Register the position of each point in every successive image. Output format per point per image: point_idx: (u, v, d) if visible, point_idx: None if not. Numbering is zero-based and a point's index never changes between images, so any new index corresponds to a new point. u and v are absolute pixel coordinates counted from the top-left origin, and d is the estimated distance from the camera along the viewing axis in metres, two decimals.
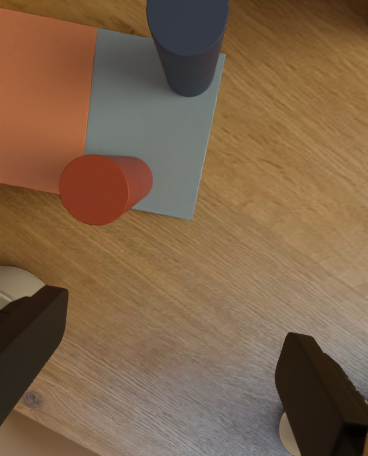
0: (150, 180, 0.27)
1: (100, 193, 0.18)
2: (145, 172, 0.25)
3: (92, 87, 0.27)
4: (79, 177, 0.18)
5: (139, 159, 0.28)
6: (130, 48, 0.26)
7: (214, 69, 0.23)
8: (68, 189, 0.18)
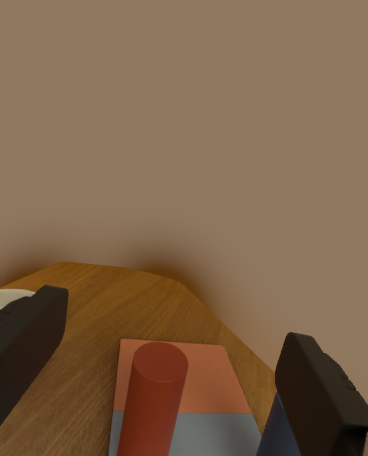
0: None
1: (160, 363, 0.23)
2: (162, 453, 0.23)
3: (211, 413, 0.32)
4: (168, 351, 0.24)
5: None
6: (254, 441, 0.30)
7: None
8: (157, 346, 0.25)
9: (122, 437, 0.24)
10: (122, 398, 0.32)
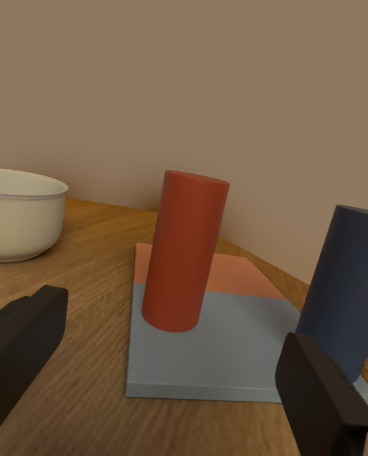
0: (183, 312, 0.20)
1: (198, 176, 0.19)
2: (198, 288, 0.20)
3: (242, 294, 0.28)
4: None
5: None
6: (293, 315, 0.26)
7: (355, 326, 0.17)
8: (191, 174, 0.21)
9: (150, 272, 0.20)
10: (143, 276, 0.28)
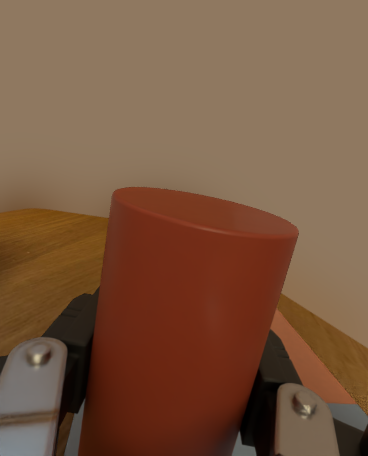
0: None
1: (206, 208, 0.07)
2: None
3: None
4: (221, 203, 0.08)
5: None
6: None
7: None
8: (187, 194, 0.09)
9: None
10: None
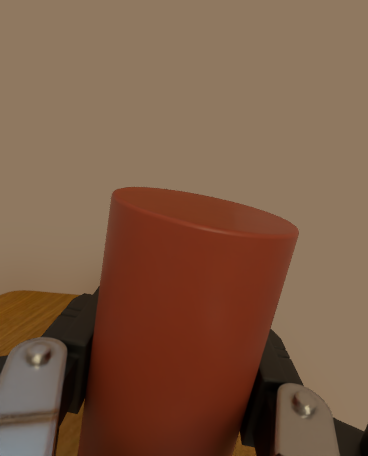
0: None
1: (206, 208, 0.07)
2: None
3: None
4: (221, 203, 0.08)
5: None
6: None
7: None
8: (187, 194, 0.09)
9: None
10: None
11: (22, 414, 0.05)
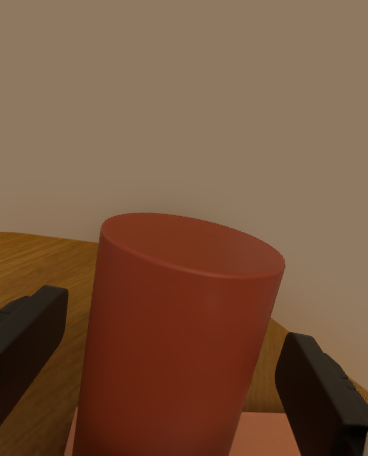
0: None
1: (194, 240, 0.07)
2: None
3: None
4: (211, 229, 0.08)
5: None
6: None
7: None
8: (178, 219, 0.09)
9: None
10: None
11: None
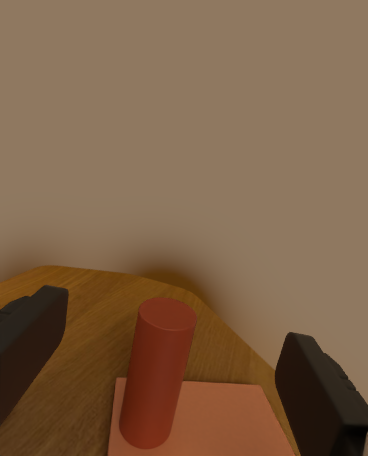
0: (155, 432, 0.22)
1: (168, 314, 0.22)
2: (168, 411, 0.22)
3: None
4: (175, 306, 0.23)
5: None
6: None
7: None
8: (164, 301, 0.24)
9: (126, 395, 0.23)
10: None
11: None
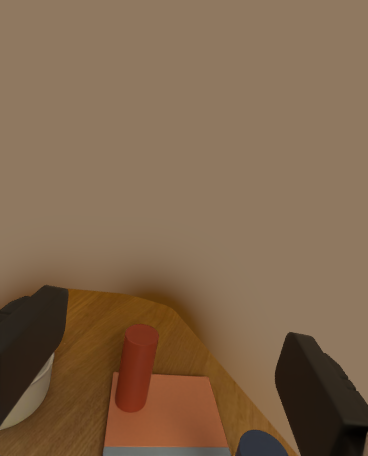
0: (135, 403, 0.39)
1: (141, 335, 0.38)
2: (142, 390, 0.39)
3: (191, 448, 0.36)
4: (147, 329, 0.40)
5: (146, 399, 0.41)
6: None
7: None
8: (140, 326, 0.40)
9: (118, 381, 0.39)
10: (112, 433, 0.36)
11: None
